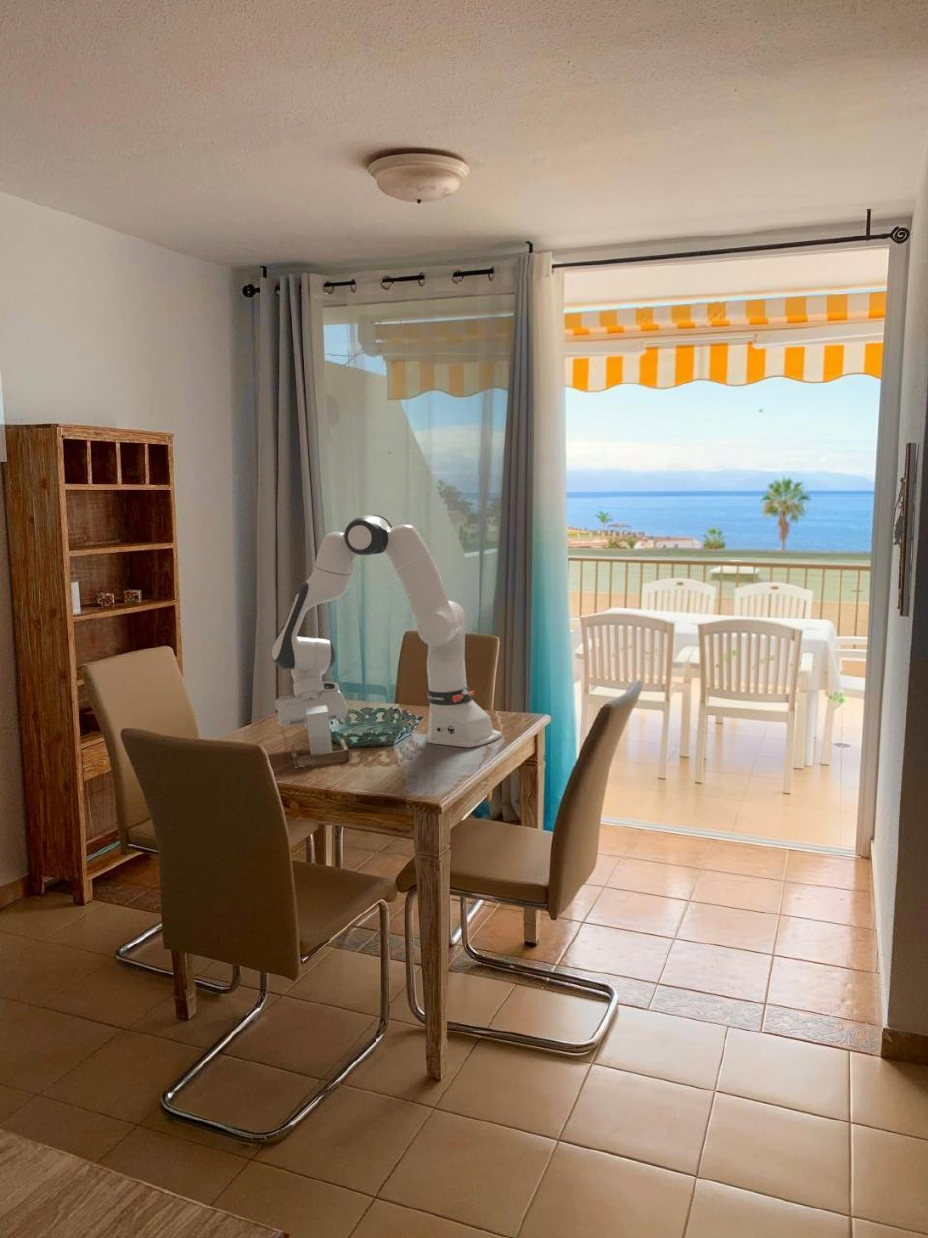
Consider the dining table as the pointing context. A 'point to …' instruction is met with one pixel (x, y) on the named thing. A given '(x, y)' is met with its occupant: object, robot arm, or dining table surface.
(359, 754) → the dining table surface
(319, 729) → the small box
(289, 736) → the dining table surface
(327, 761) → the walnut bay
